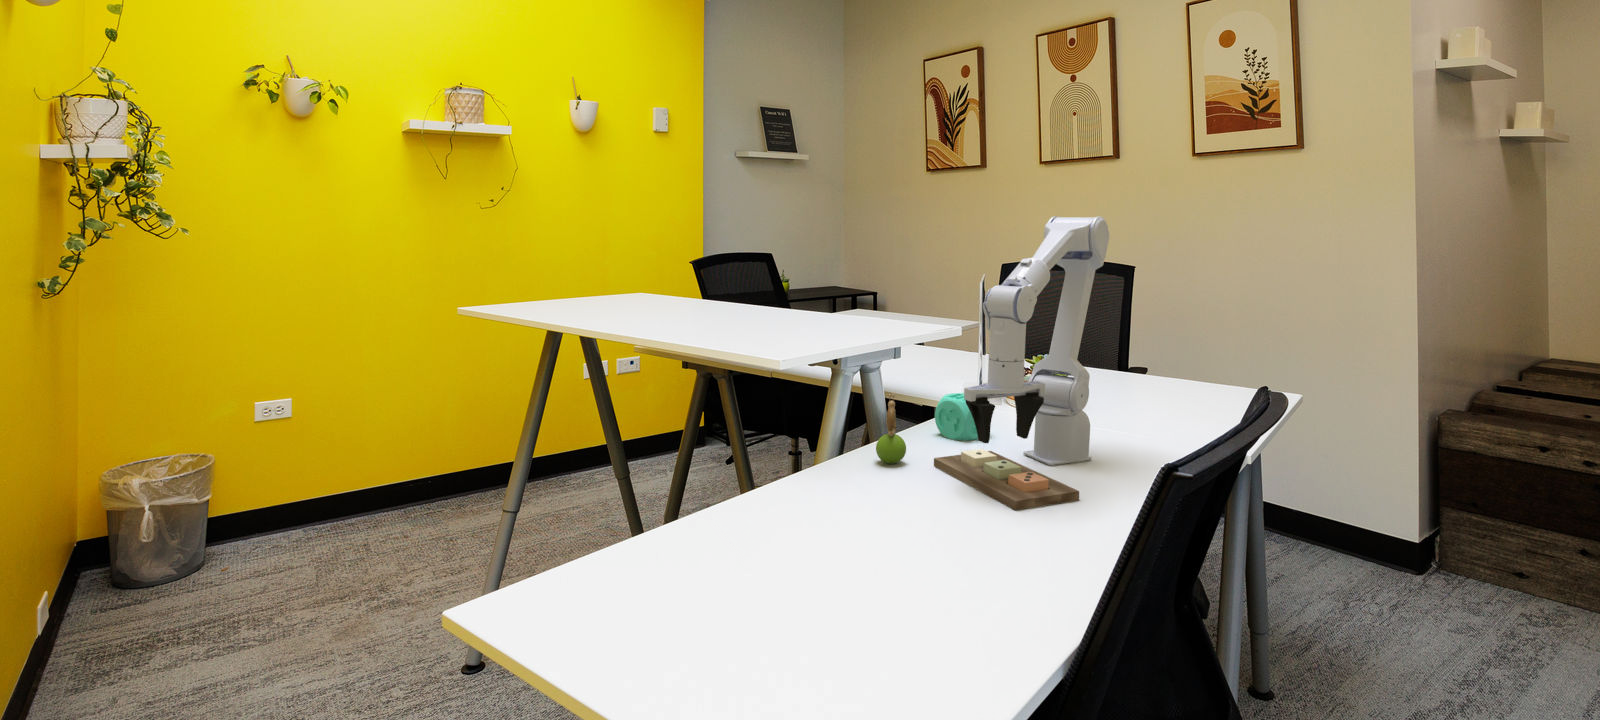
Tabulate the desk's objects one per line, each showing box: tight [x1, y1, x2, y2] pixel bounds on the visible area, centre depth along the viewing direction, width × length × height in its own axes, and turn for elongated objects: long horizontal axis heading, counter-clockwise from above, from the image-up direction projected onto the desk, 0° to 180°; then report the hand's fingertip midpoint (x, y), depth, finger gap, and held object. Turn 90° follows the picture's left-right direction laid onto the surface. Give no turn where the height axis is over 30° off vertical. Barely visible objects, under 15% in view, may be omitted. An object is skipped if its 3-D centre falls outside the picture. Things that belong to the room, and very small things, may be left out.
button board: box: [933, 450, 1080, 511], centre depth 138 cm, size 12×24×2 cm, turn 21°
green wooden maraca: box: [875, 393, 907, 465], centre depth 149 cm, size 5×6×12 cm
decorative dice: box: [934, 392, 978, 441], centre depth 167 cm, size 8×8×8 cm
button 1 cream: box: [960, 448, 997, 468], centre depth 144 cm, size 4×4×2 cm
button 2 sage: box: [983, 460, 1021, 480], centre depth 138 cm, size 4×4×2 cm
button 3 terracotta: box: [1008, 472, 1049, 493], centre depth 132 cm, size 4×4×2 cm
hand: (1003, 439), depth 137 cm, fingers open, 7 cm apart
